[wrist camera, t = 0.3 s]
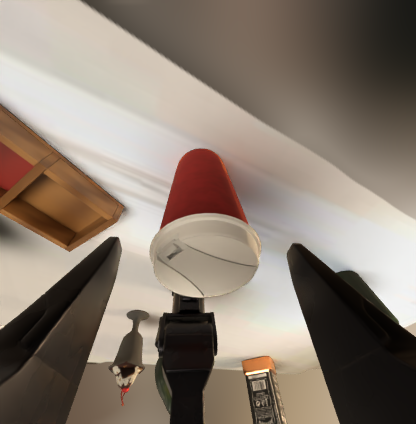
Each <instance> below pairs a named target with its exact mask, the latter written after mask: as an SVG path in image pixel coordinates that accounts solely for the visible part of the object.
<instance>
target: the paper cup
mask: <svg viewBox="0 0 416 424" xmlns="http://www.w3.org/2000/svg"><path fill="white" fill-rule="evenodd" d="M260 254H261V242H260V239H259V237H258V235H257V233H256V232H255V230H254V229H253V228H252V227H251V226H250V225H249V224H248V222H247V219H246V217H245V214H244V212H243V209H242V207H241V204H240V202H239V199H238V197H237V195H236V192H235V190H234V187H233V185H232V182H231V180H230V177H229V175H228V173H227V170H226V168H225V166H224V164H223V162H222V160H221V158H220V157H219V156H218V155H217V154H216V153H214V152H213V151H211V150H208V149H194V150H191V151H189V152H187V153H186V154H185V155H184V156H183V157H182V158H181V160H180V161H179V164H178V166H177V169H176V173H175V176H174V180H173V183H172V187H171V190H170V194H169V198H168V201H167V205H166V209H165V212H164V216H163V220H162V223H161V227H160V231H159V232H158V233H157V234H156V235H155V237H154V238H153V240H152V243H151V246H150V259H151V261H152V264H153V267H154V273H155V275H156V277H157V279H158V280H159V282H160V283H161V284H162V285H163V286H164V287H166V288H167V289H169V290H170V291H173V292H175V293H177V294H180V295H184V296H189V297H198V298H204V297H213V296H220V295H224V294H228V293H230V292H233V291H235V290H237V289H239V288H241V287H242V286H244V285H245V284H247V283H248V282H249V281H250V280H251V279H252V278H253V276H254V274H255V272H256V270H257V268H258V265H259V257H260Z"/></svg>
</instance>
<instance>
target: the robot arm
mask: <svg viewBox="0 0 416 424" xmlns="http://www.w3.org/2000/svg"><path fill="white" fill-rule="evenodd" d="M121 252H122V247H121V244H120V240H119V238H118V237H109V238H108V239H106V240H105V241H104V242H103V243H102V244H101V245H100V246H98V247H97V248H96V249H95V250H94V251H93V252H92V253H90V254H89V255H88V256H87V257H86V258H85V259H83V260H82V261H81V262H80V263H79V264H78V265H77V266H75V267H74V268H73V269H72V270H71V271H70V272H69V273H67V274H66V275H65V276H64V277H63V278H62V279H61V280H59V281H58V282H57V283H56V284H55V285H54V286H52V287H51V288H50V289H49V290H48V291H47V292H46V293H45V294H43V295H42V296H41V297H40V298H39V299H37V300H36V301H35V302H34V303H33V304H32V305H30V306H29V307H28V308H27V309H26V310H24V311H23V312H22V313H21V314H20V315H18V316H17V317H16V318H14V319H13V320H12V321H11V322H9V323H8V324H7V325H5V326H4V327H3V328H1V329H0V424H65V423H66V421H67V418H68V415H69V412H70V409H71V406H72V403H73V401H74V398H75V395H76V392H77V389H78V386H79V383H80V380H81V377H82V375H83V372H84V369H85V366H86V363H87V360H88V357H89V355H90V352H91V349H92V346H93V343H94V340H95V337H96V335H97V332H98V329H99V326H100V323H101V320H102V317H103V315H104V312H105V309H106V306H107V303H108V300H109V297H110V295H111V292H112V289H113V286H114V283H115V279H116V275H117V271H118V266H119V261H120V257H121ZM287 260H288V265H289V269H290V274H291V278H292V282H293V286H294V289H295V292H296V295H297V298H298V301H299V304H300V307H301V310H302V313H303V316H304V319H305V321H306V324H307V327H308V330H309V333H310V336H311V339H312V342H313V345H314V348H315V351H316V354H317V357H318V360H319V363H320V366H321V369H322V371H323V375H324V378H325V381H326V384H327V387H328V390H329V393H330V396H331V399H332V402H333V405H334V408H335V411H336V414H337V417H338V420H339V423H340V424H416V337H415V336H414V335H412V334H411V333H410V332H408V331H407V330H406V329H404V328H403V327H402V326H400V325H399V324H398V323H396V322H395V321H394V320H392V319H391V318H390V317H389V316H387V315H386V314H385V313H383V312H382V311H381V310H380V309H378V308H377V307H376V306H375V305H373V304H372V303H371V302H370V301H369V300H367V299H366V298H365V297H364V296H362V295H361V294H360V293H359V292H358V291H357V290H355V289H354V288H353V287H352V286H351V285H349V284H348V283H347V282H346V281H345V280H344V279H342V278H341V277H340V276H339V275H338V274H336V273H335V272H334V271H333V270H332V269H330V268H329V267H328V266H327V265H326V264H324V263H323V262H322V261H321V260H320V259H319V258H317V257H316V256H315V255H314V254H313V253H311V252H310V251H309V250H308V249H307V248H305V247H304V246H303V245H302V244H299V243H293V244H292V245H291V247H290V249H289V250H288V252H287ZM172 296H174V297H173V309H172V313H164V314H163V316H162V317H160V321H159V328H158V333H157V337H156V342H155V346H156V347H157V348H158V352H159V358H162V357H163V358H162V369H163V377H164V379H165V382H166V384H167V387H168V390H169V392H170V395H171V397H172V398H171V414H170V424H205V416H204V390H205V387H206V385H207V382H208V380H209V377H210V374H211V371H212V369H213V366H214V356H216V355H217V332H216V325H215V318H214V312H210V313H205V310H204V298H198V297H189V296H184V295H180V294H177V293H175V292H173V291H172Z"/></svg>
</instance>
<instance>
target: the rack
mask: <svg viewBox="0 0 416 424" xmlns="http://www.w3.org/2000/svg"><path fill="white" fill-rule="evenodd" d="M123 208H124V206H122V205H121V204H120V203H119V202H118V201H116V200H115V199H114V198H113V197H112V196H110V195H109V194H108V193H107V192H106V191H104V190H103V189H102V188H101V187H99V186H98V185H97V184H96V183H95V182H93V181H92V180H91V179H90V178H89V177H87V176H86V175H85V174H84V173H83V172H81V171H80V170H79V169H78V168H76V167H75V166H74V165H73V164H72V163H70V162H69V161H68V160H67V159H66V158H64V157H63V156H62V155H61V154H60V153H58V152H57V151H56V150H55V149H53V148H52V147H51V146H50V145H49V144H47V143H46V142H45V141H44V140H43V139H41V138H40V137H39V136H38V135H37V134H35V133H34V132H33V131H32V130H31V129H29V128H28V127H27V126H26V125H24V124H23V123H22V122H21V121H20V120H18V119H17V118H16V117H15V116H14V115H12V114H11V113H10V112H9V111H8V110H6V109H5V108H4V107H3V106H1V105H0V213H1V214H3V215H4V216H6V217H8V218H10V219H12V220H13V221H15V222H17V223H19V224H21V225H22V226H24V227H26V228H28V229H30V230H31V231H33V232H35V233H37V234H38V235H40V236H42V237H44V238H46V239H47V240H49V241H51V242H53V243H55V244H56V245H58V246H60V247H62V248H65V250H67V251H69V252H70V251H72V250H73V249H75V248H77V247H78V246H80V245H81V244H83V243H84V242H86V241H88V240H89V239H91V238H92V237H94V236H95V235H97V234H99V233H100V232H102V231H103V230H105V229H107V228H108V227H110V226H111V225H113V224H114V223H116V222H117V221H118V219H119V217H120V215H121V212H122V210H123Z"/></svg>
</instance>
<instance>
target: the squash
mask: <svg viewBox="0 0 416 424" xmlns="http://www.w3.org/2000/svg"><path fill="white" fill-rule="evenodd" d="M162 358H163V357H162ZM162 358H159V359H158V361H157V364H156V367H155V380H156V385H157V389H158V391H159V394H160V396H161V398H162V400H163V402H164V404H165V406H166V409H167V411H168V412H169V414H171V398H172V397H171V395H170V392H169V390H168V387H167V384H166V382H165V379H164V377H163V369H162Z"/></svg>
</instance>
